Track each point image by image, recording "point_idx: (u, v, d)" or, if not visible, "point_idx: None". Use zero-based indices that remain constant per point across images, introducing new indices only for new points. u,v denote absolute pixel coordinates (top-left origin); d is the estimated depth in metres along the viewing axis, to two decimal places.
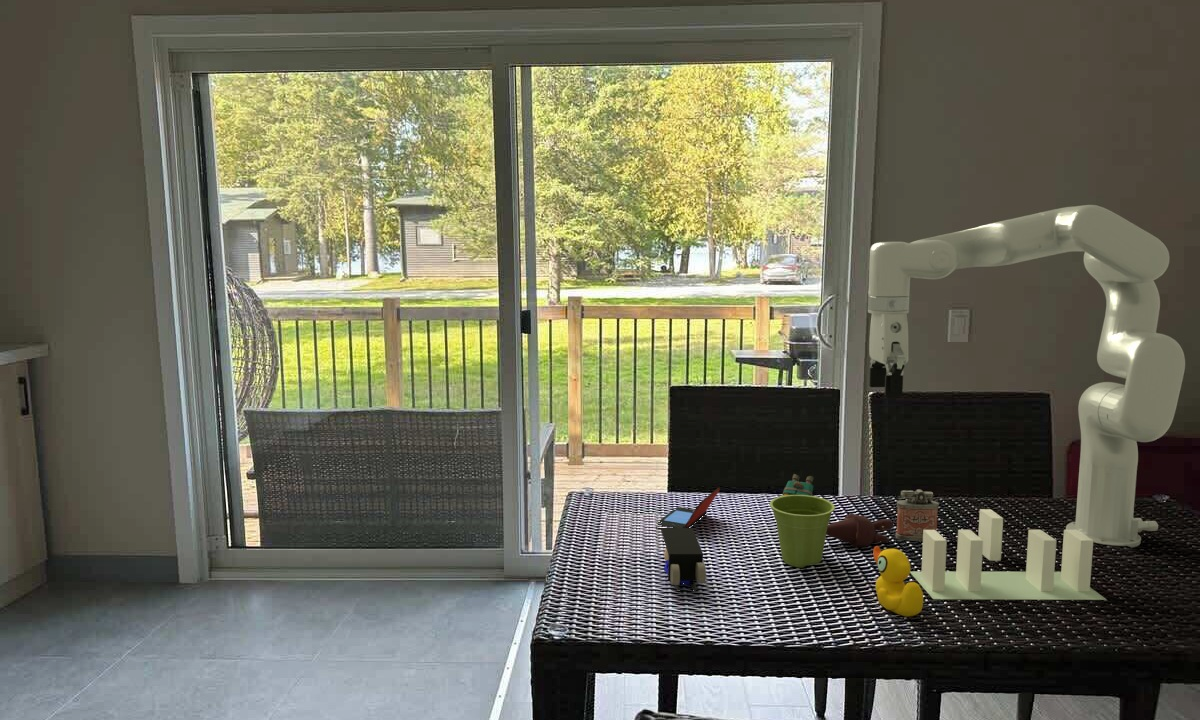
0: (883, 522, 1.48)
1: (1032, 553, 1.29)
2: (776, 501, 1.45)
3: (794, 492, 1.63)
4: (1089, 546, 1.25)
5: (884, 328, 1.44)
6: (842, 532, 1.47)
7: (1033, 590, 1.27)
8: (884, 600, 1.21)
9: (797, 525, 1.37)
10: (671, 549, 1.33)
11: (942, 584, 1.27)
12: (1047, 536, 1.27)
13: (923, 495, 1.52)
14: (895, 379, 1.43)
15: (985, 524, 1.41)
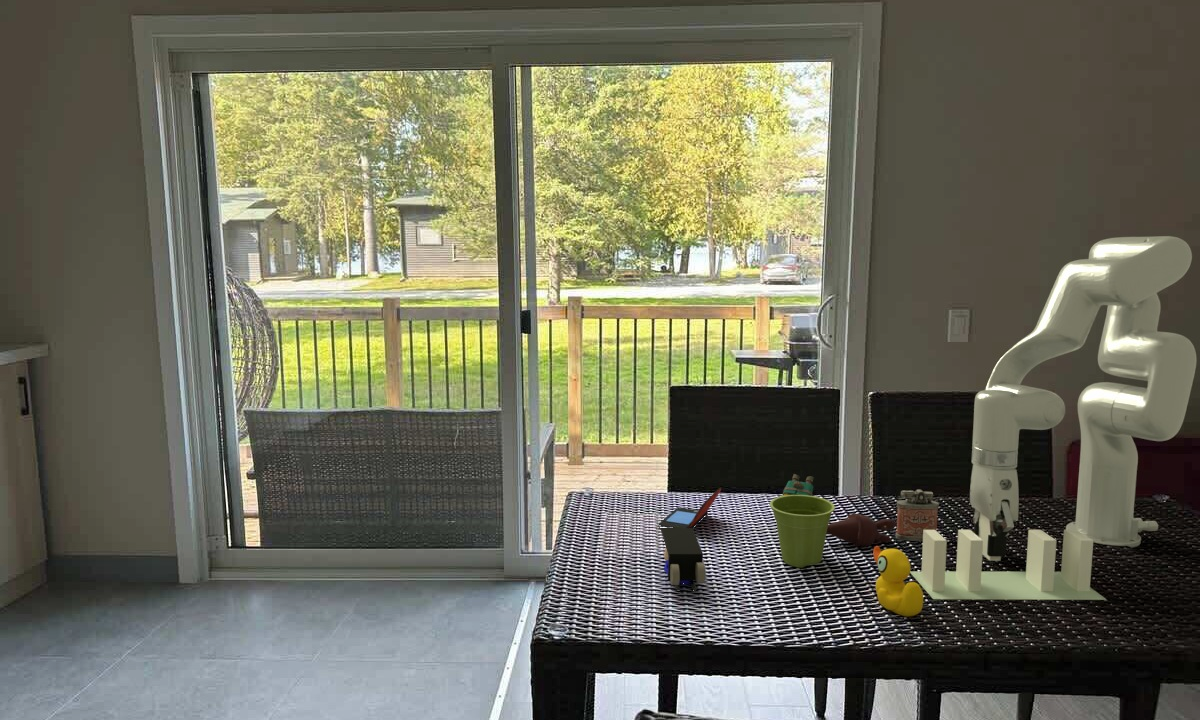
0: (885, 522, 1.48)
1: (1032, 553, 1.29)
2: (776, 501, 1.45)
3: (794, 492, 1.63)
4: (1089, 546, 1.25)
5: (992, 484, 1.36)
6: (844, 532, 1.47)
7: (1033, 590, 1.27)
8: (884, 600, 1.21)
9: (797, 525, 1.37)
10: (671, 549, 1.33)
11: (942, 584, 1.27)
12: (1047, 536, 1.27)
13: (923, 495, 1.52)
14: (999, 540, 1.38)
15: (985, 524, 1.41)
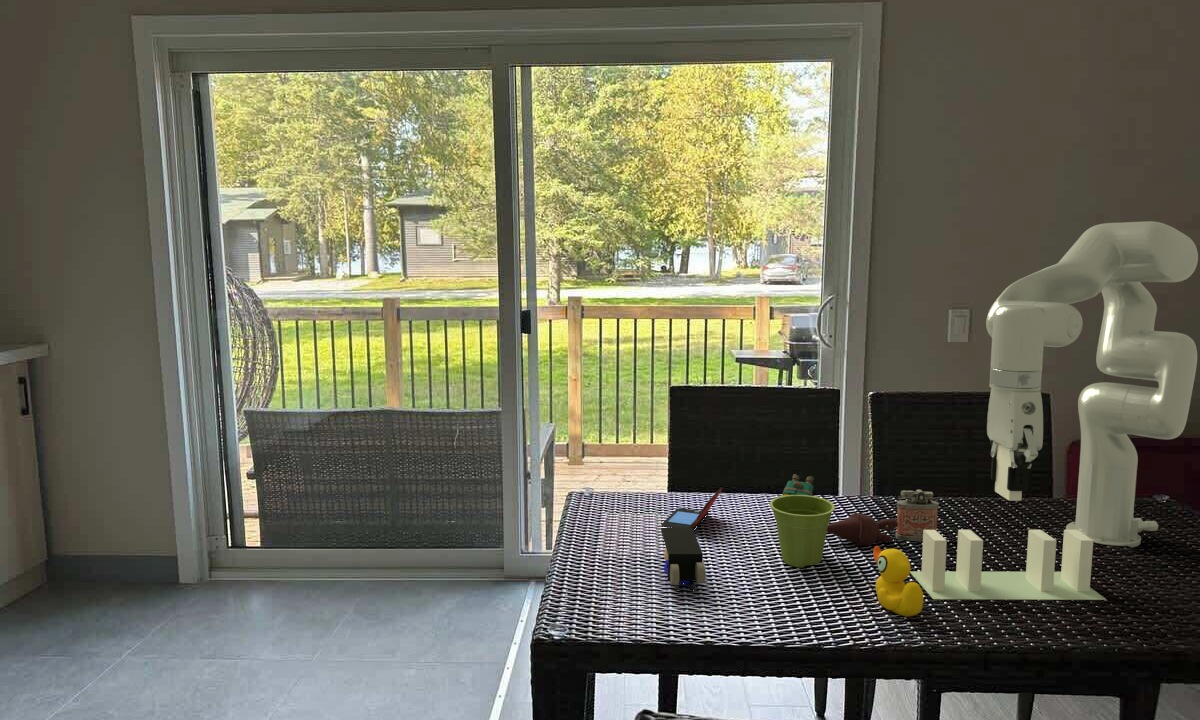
0: (887, 521, 1.48)
1: (1032, 553, 1.29)
2: (776, 501, 1.45)
3: (794, 492, 1.63)
4: (1089, 546, 1.25)
5: (1014, 408, 1.21)
6: (846, 531, 1.48)
7: (1033, 590, 1.27)
8: (884, 600, 1.21)
9: (797, 525, 1.37)
10: (671, 549, 1.33)
11: (942, 584, 1.27)
12: (1047, 536, 1.27)
13: (923, 495, 1.52)
14: (1021, 472, 1.23)
15: (1004, 456, 1.26)
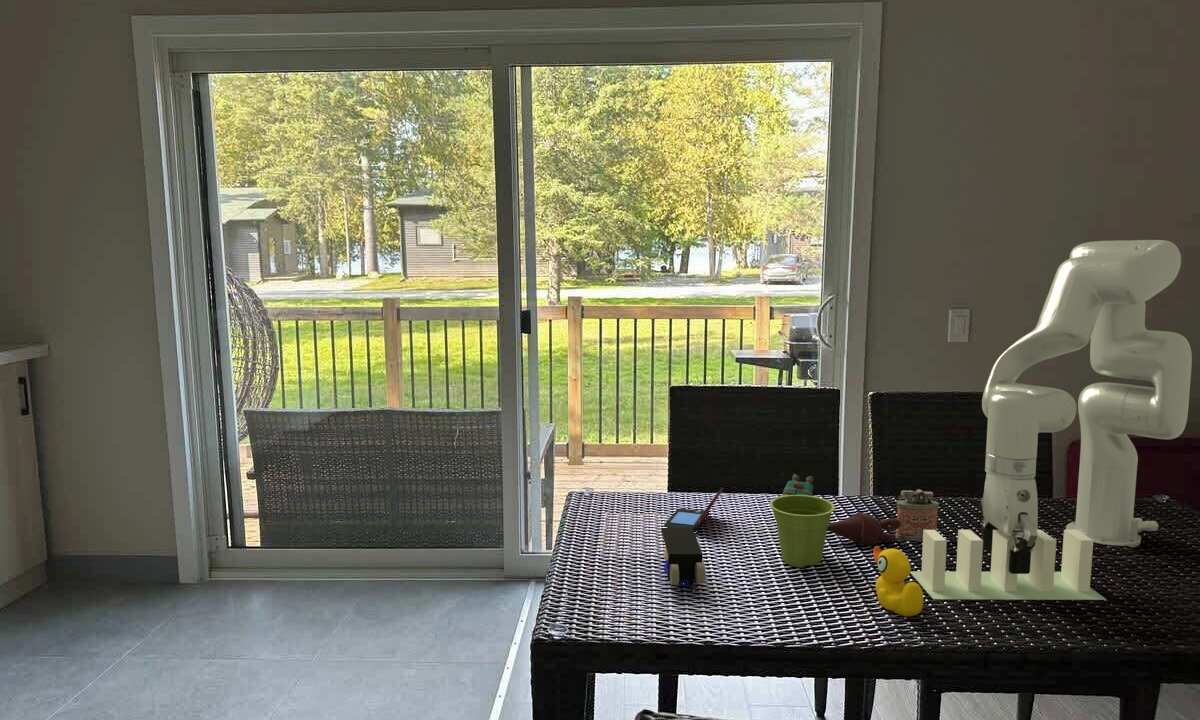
0: (890, 521, 1.48)
1: (1032, 553, 1.29)
2: (776, 501, 1.45)
3: (794, 492, 1.63)
4: (1089, 546, 1.25)
5: (1009, 495, 1.23)
6: (848, 530, 1.48)
7: (1033, 590, 1.27)
8: (884, 600, 1.21)
9: (797, 525, 1.37)
10: (671, 549, 1.33)
11: (942, 584, 1.27)
12: (1047, 536, 1.27)
13: (923, 495, 1.52)
14: (1022, 556, 1.23)
15: (999, 546, 1.28)
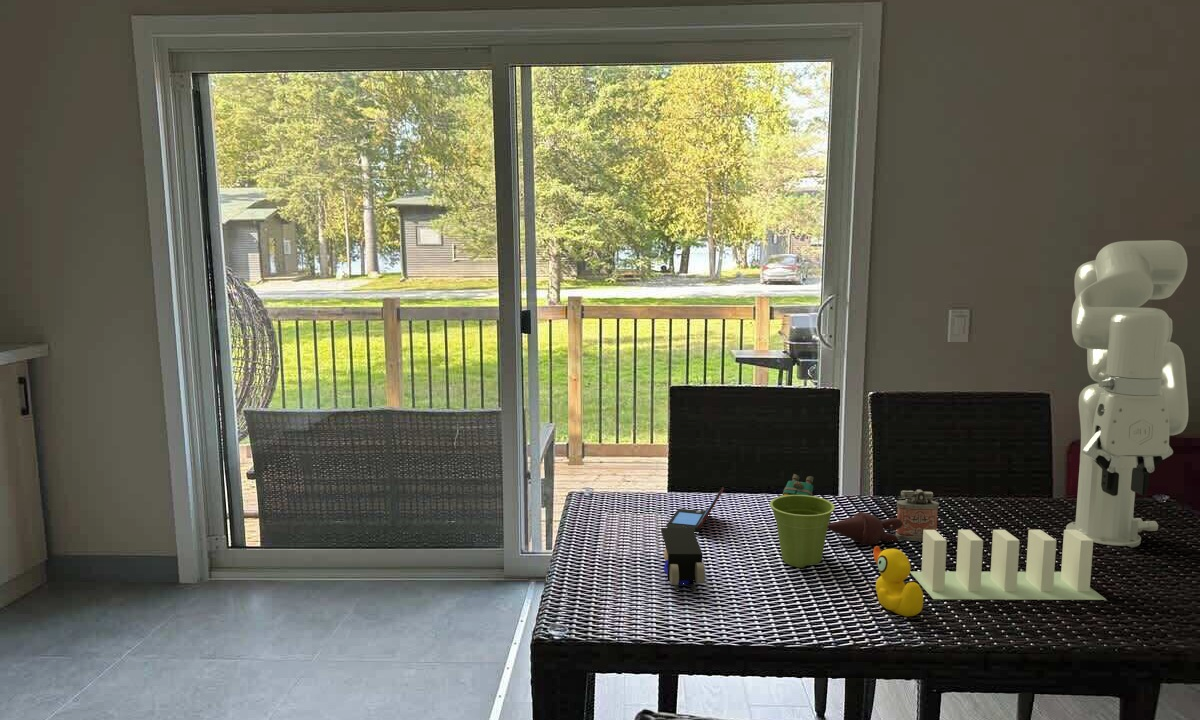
0: (891, 521, 1.48)
1: (1032, 553, 1.29)
2: (776, 501, 1.45)
3: (794, 492, 1.63)
4: (1089, 546, 1.25)
5: None
6: (850, 530, 1.48)
7: (1033, 590, 1.27)
8: (884, 600, 1.21)
9: (797, 525, 1.37)
10: (670, 549, 1.33)
11: (942, 584, 1.27)
12: (1047, 536, 1.27)
13: (923, 495, 1.51)
14: (1104, 474, 1.26)
15: (999, 546, 1.28)
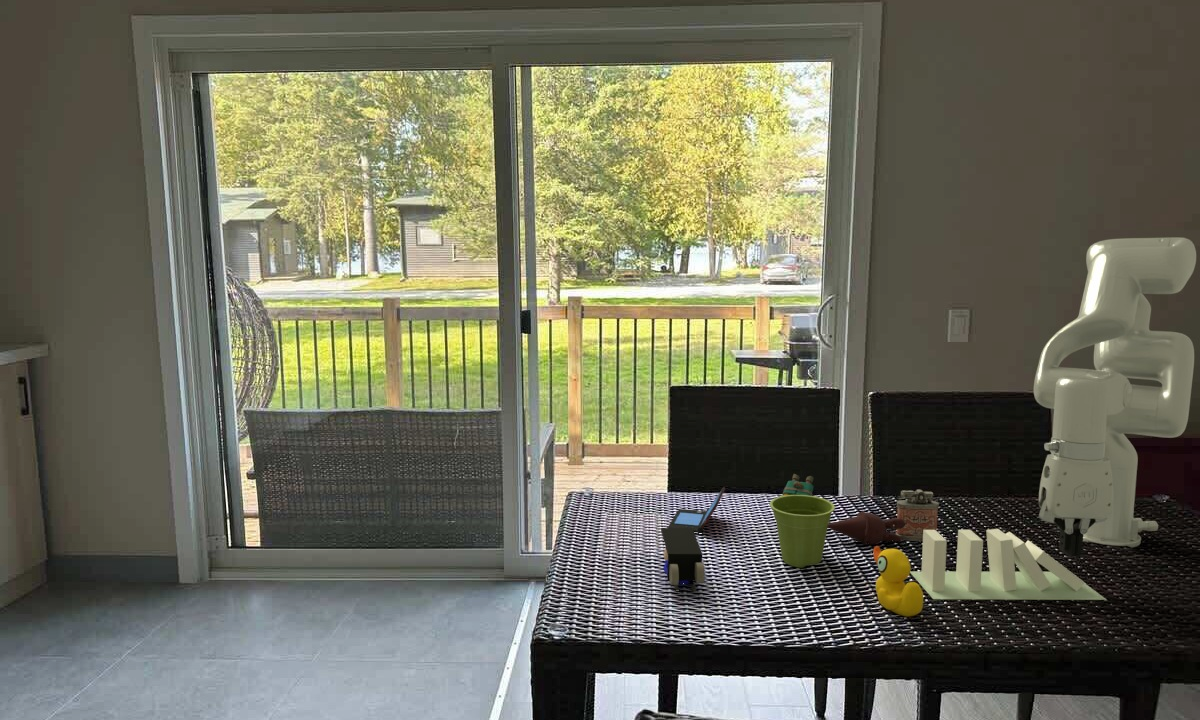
0: (894, 521, 1.48)
1: (1014, 557, 1.30)
2: (776, 501, 1.45)
3: (794, 492, 1.63)
4: (1046, 557, 1.26)
5: None
6: (852, 529, 1.49)
7: (1033, 590, 1.27)
8: (884, 600, 1.21)
9: (797, 525, 1.37)
10: (670, 549, 1.33)
11: (942, 584, 1.27)
12: (1016, 540, 1.28)
13: (923, 495, 1.52)
14: (1062, 535, 1.28)
15: (994, 547, 1.29)
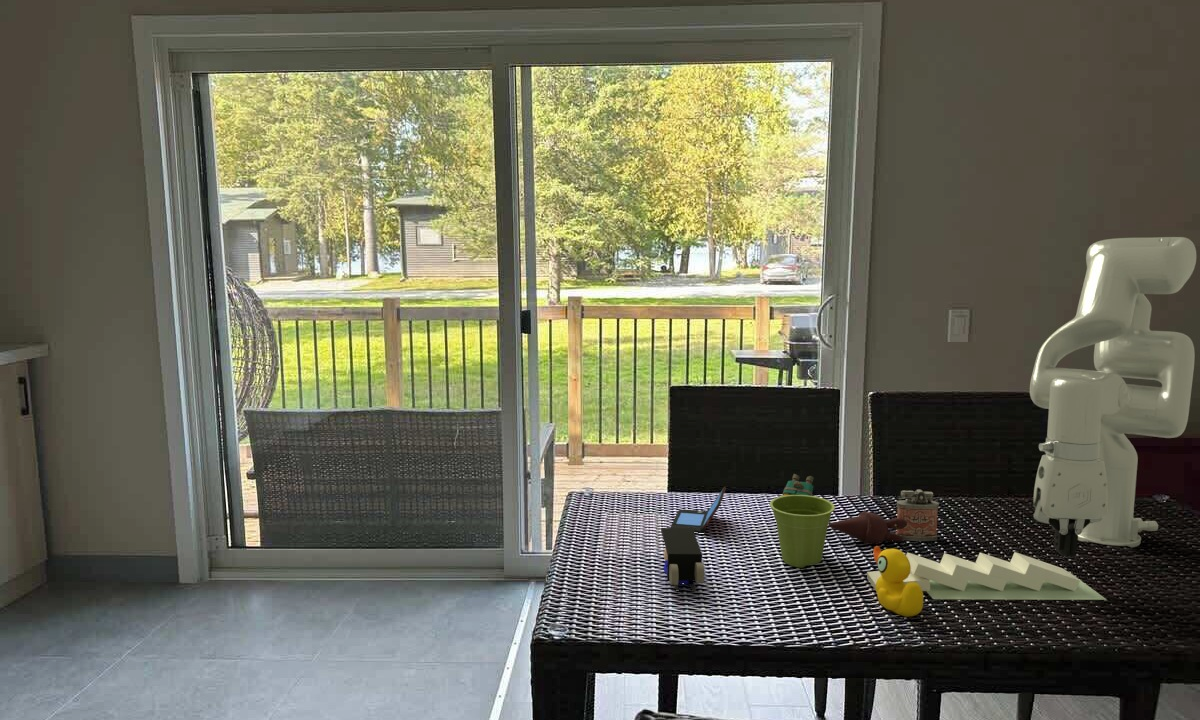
0: (896, 521, 1.49)
1: None
2: (776, 501, 1.45)
3: (794, 492, 1.63)
4: (1034, 568, 1.26)
5: None
6: (853, 529, 1.49)
7: (1033, 590, 1.27)
8: (884, 600, 1.21)
9: (797, 525, 1.37)
10: (670, 549, 1.33)
11: (922, 582, 1.28)
12: (987, 562, 1.28)
13: (923, 495, 1.52)
14: (1057, 535, 1.28)
15: None
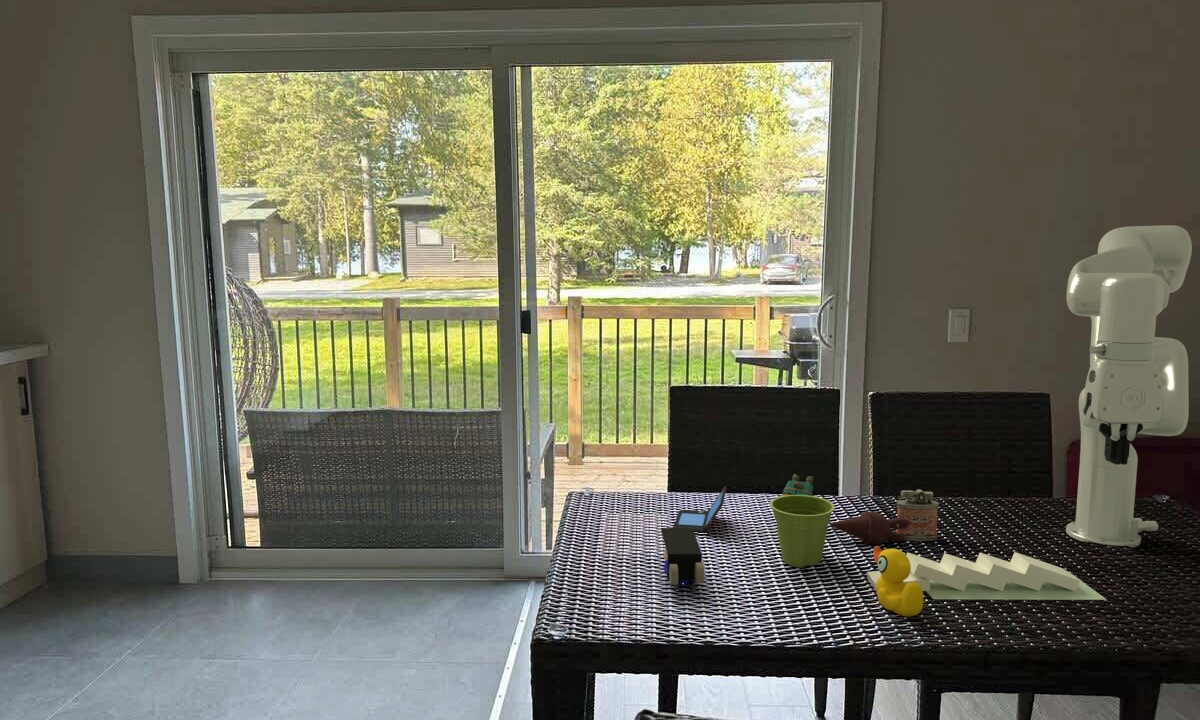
0: (898, 520, 1.49)
1: None
2: (776, 501, 1.45)
3: (794, 492, 1.63)
4: (1034, 568, 1.26)
5: None
6: (855, 528, 1.49)
7: (1033, 590, 1.27)
8: (884, 600, 1.21)
9: (797, 525, 1.37)
10: (670, 549, 1.33)
11: (922, 582, 1.28)
12: (987, 562, 1.28)
13: (923, 495, 1.52)
14: (1108, 442, 1.23)
15: None
